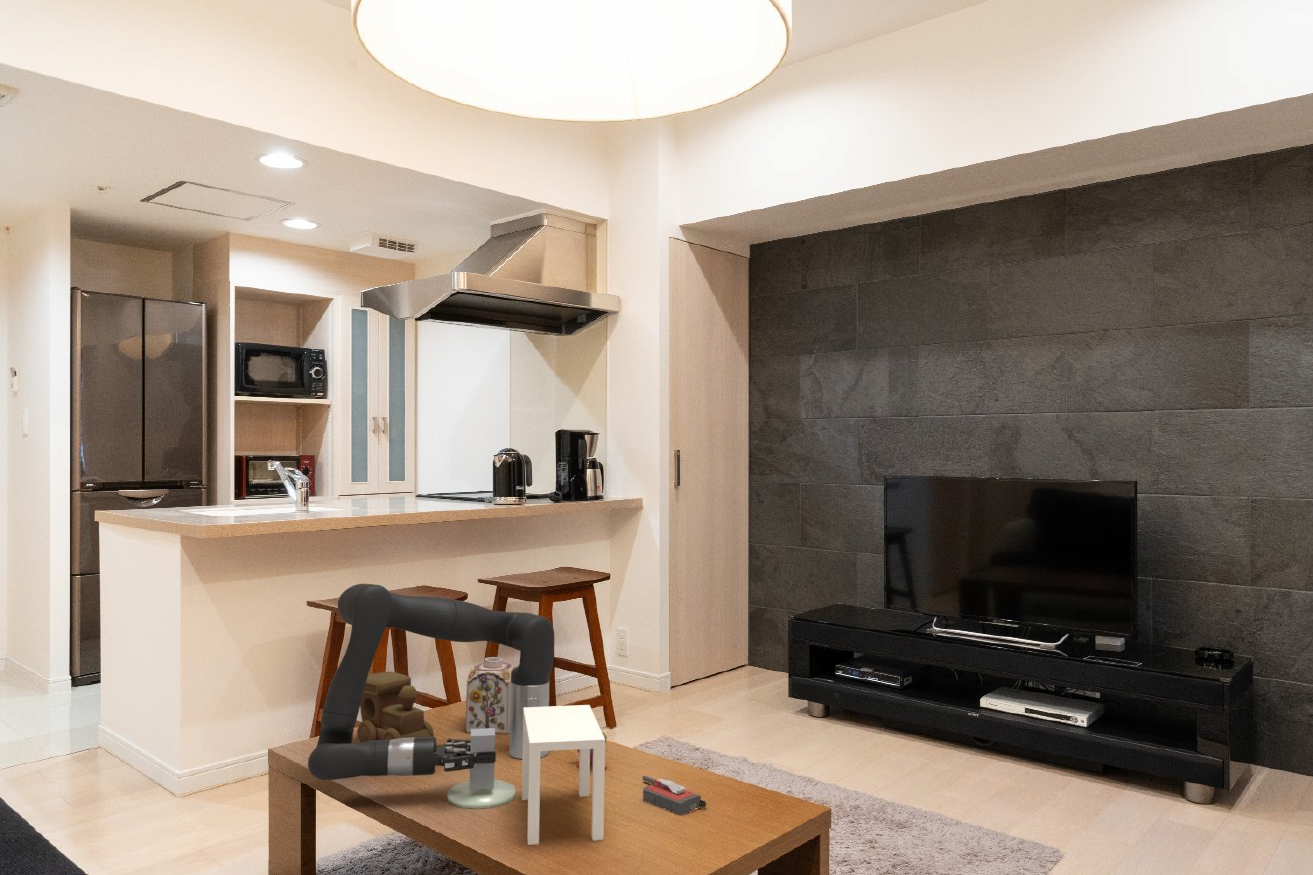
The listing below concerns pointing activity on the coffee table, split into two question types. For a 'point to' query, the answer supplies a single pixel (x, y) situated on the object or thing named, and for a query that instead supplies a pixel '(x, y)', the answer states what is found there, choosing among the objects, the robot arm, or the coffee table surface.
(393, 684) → the wooden toy train
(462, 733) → the coffee table surface
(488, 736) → the block
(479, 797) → the plate
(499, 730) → the decorative jar
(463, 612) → the robot arm
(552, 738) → the white step stool
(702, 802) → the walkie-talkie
